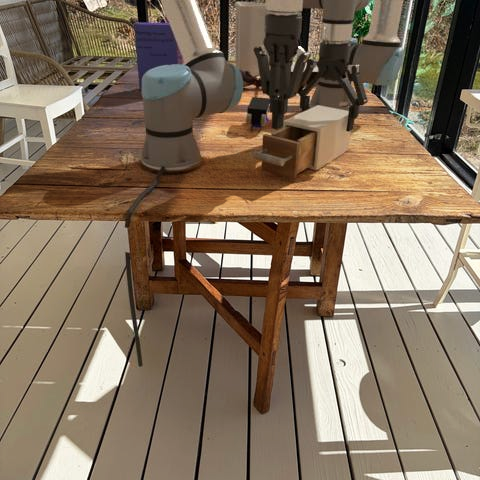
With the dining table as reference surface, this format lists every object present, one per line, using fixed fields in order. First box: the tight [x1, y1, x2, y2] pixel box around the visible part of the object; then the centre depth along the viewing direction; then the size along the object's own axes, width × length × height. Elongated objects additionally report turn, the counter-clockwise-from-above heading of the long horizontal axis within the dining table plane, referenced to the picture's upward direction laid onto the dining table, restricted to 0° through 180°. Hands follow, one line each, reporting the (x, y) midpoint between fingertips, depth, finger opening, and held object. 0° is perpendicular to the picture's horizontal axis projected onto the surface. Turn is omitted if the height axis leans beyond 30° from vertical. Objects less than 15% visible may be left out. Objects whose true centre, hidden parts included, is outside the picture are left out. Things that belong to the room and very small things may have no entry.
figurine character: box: [245, 96, 270, 132], centre depth 148 cm, size 7×8×15 cm
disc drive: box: [290, 61, 318, 85], centre depth 207 cm, size 18×22×5 cm
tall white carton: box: [234, 1, 270, 77], centre depth 210 cm, size 19×15×28 cm
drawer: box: [251, 126, 318, 180], centre depth 117 cm, size 23×10×9 cm, turn 144°
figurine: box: [239, 69, 262, 88], centre depth 190 cm, size 24×8×30 cm
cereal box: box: [133, 21, 184, 91], centre depth 182 cm, size 17×5×24 cm, turn 86°
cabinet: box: [282, 105, 352, 171], centre depth 127 cm, size 19×11×11 cm, turn 144°
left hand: (277, 127), depth 108 cm, fingers closed
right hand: (326, 125), depth 129 cm, fingers open, 13 cm apart
